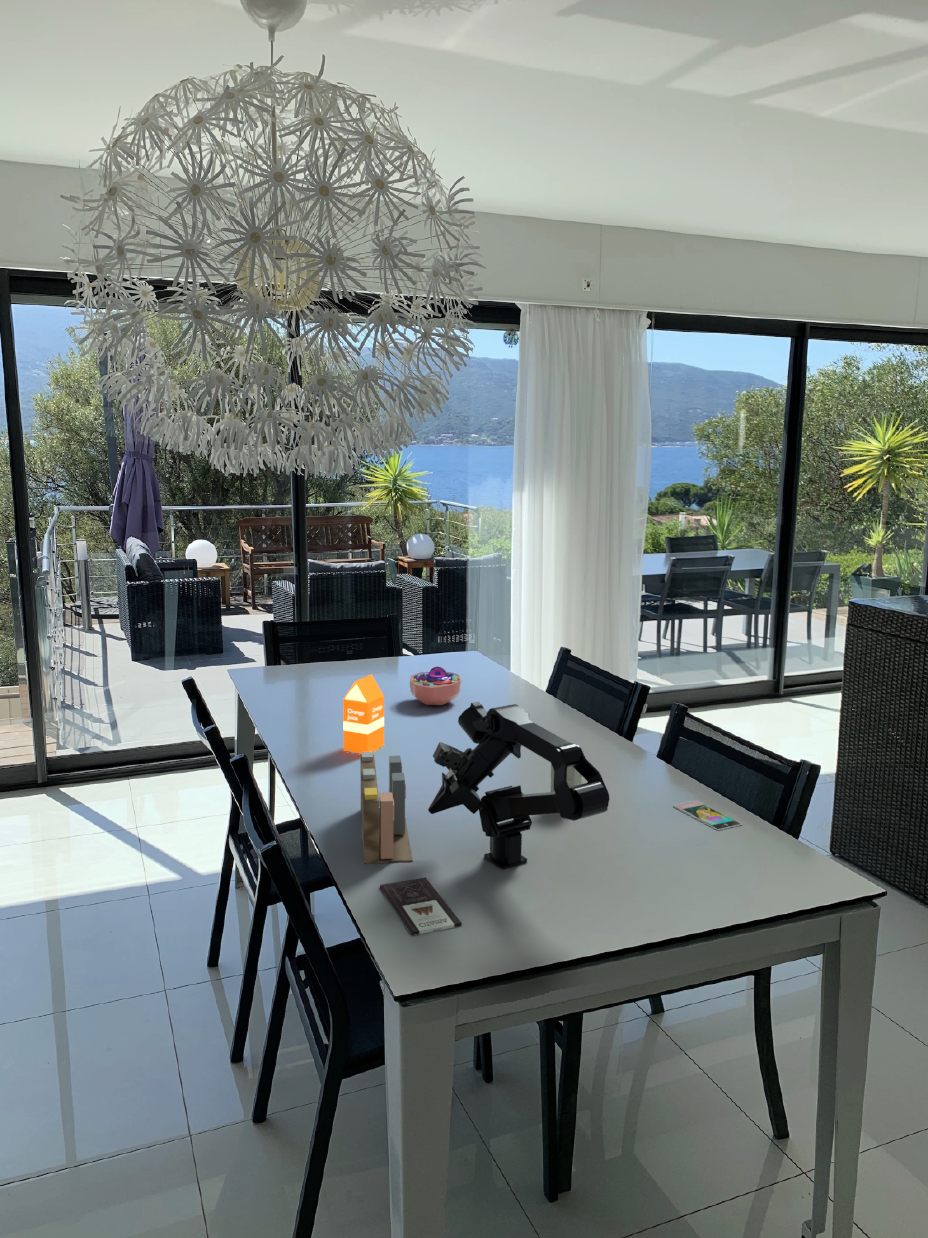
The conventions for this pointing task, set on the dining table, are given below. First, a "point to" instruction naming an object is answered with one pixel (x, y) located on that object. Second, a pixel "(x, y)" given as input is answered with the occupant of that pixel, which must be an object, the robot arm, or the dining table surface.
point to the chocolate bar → (420, 906)
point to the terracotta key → (386, 825)
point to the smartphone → (706, 815)
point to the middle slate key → (399, 803)
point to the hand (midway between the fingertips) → (429, 812)
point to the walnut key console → (377, 818)
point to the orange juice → (363, 716)
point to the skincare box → (568, 777)
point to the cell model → (435, 686)
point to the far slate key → (394, 768)
